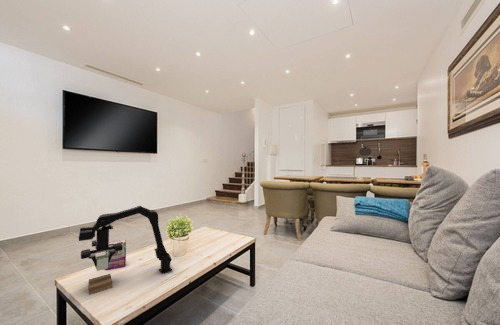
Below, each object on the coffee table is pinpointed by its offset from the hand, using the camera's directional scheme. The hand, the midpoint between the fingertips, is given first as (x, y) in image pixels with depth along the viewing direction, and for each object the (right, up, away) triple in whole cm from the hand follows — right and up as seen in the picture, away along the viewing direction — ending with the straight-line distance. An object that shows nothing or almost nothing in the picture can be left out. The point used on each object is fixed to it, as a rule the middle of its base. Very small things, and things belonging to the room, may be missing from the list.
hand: (102, 265), depth 115 cm
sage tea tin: (0, -1, 0) cm, 1 cm away
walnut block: (0, -12, -1) cm, 12 cm away
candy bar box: (-6, -12, +21) cm, 25 cm away
